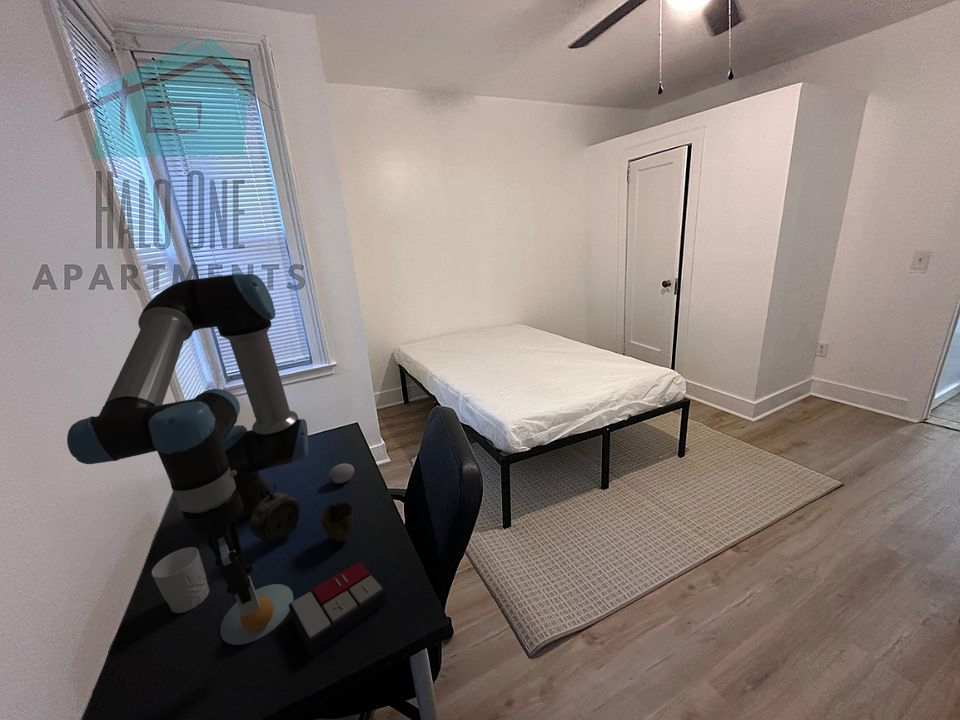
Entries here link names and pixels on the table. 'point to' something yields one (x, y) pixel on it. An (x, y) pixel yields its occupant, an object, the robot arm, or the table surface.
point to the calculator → (336, 606)
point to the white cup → (181, 579)
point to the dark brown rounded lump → (338, 521)
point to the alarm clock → (275, 517)
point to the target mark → (239, 635)
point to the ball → (258, 616)
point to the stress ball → (341, 473)
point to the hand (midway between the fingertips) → (251, 609)
